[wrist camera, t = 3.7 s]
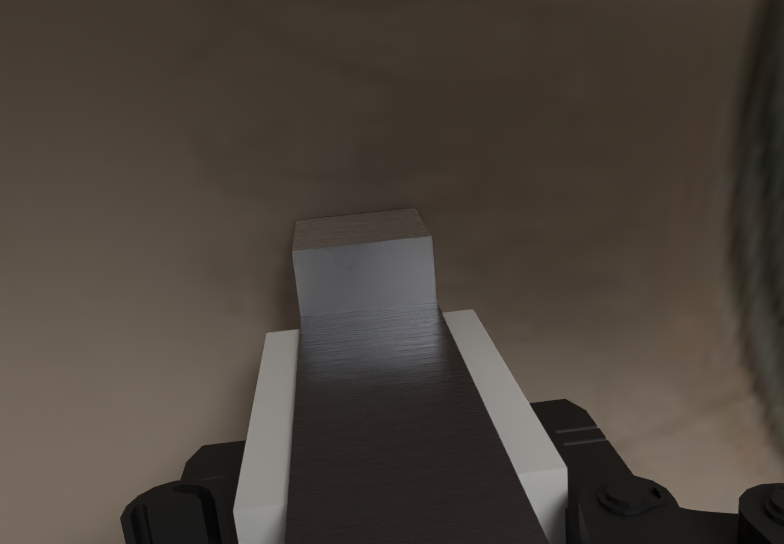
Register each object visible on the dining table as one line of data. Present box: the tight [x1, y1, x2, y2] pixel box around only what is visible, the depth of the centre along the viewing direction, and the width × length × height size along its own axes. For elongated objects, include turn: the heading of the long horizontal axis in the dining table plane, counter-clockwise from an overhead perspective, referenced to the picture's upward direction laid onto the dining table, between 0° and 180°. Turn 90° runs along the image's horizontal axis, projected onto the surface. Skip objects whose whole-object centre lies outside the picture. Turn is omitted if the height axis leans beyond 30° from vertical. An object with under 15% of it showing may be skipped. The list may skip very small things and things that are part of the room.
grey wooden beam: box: [285, 208, 549, 544], centre depth 13 cm, size 6×3×14 cm, turn 5°
